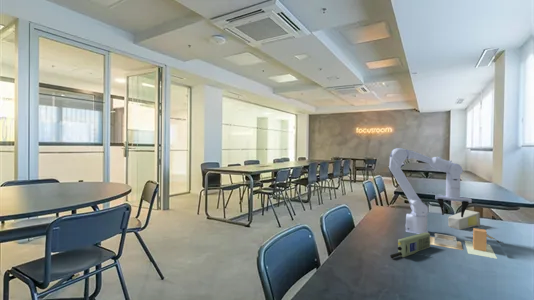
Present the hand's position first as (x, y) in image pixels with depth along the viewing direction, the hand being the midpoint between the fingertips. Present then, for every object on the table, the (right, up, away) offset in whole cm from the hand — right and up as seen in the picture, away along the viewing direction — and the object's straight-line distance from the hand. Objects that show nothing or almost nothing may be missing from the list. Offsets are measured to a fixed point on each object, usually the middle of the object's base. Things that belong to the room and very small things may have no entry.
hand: (452, 215), depth 131 cm
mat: (-1, -10, -18) cm, 21 cm away
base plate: (-11, -10, -12) cm, 19 cm away
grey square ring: (-11, -10, -12) cm, 19 cm away
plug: (-1, -10, -18) cm, 21 cm away
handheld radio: (-32, -10, -22) cm, 40 cm away
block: (+18, -10, +17) cm, 27 cm away
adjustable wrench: (+19, -11, +1) cm, 22 cm away
